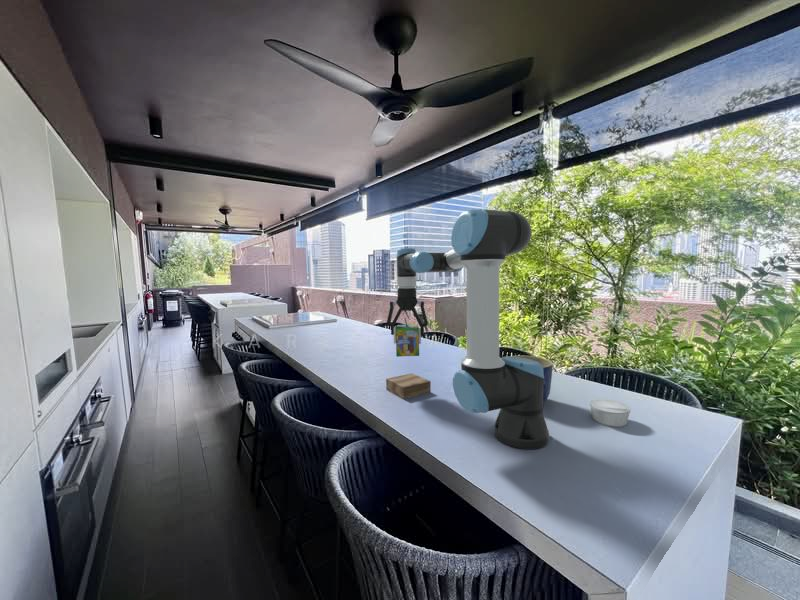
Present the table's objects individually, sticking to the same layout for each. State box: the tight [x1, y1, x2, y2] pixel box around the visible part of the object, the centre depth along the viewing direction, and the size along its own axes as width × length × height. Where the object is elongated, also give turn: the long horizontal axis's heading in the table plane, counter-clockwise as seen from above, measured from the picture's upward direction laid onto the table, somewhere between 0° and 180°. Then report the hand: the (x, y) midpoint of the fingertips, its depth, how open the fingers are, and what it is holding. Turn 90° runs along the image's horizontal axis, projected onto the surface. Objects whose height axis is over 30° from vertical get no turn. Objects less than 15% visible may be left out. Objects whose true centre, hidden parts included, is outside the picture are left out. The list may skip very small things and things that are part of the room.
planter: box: [510, 355, 554, 403], centre depth 127 cm, size 17×17×15 cm
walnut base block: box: [385, 373, 431, 400], centre depth 140 cm, size 13×13×5 cm
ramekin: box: [589, 398, 631, 428], centre depth 110 cm, size 11×11×5 cm
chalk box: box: [395, 317, 420, 358], centre depth 139 cm, size 9×9×15 cm
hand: (407, 342), depth 139 cm, fingers closed on chalk box, 9 cm apart
